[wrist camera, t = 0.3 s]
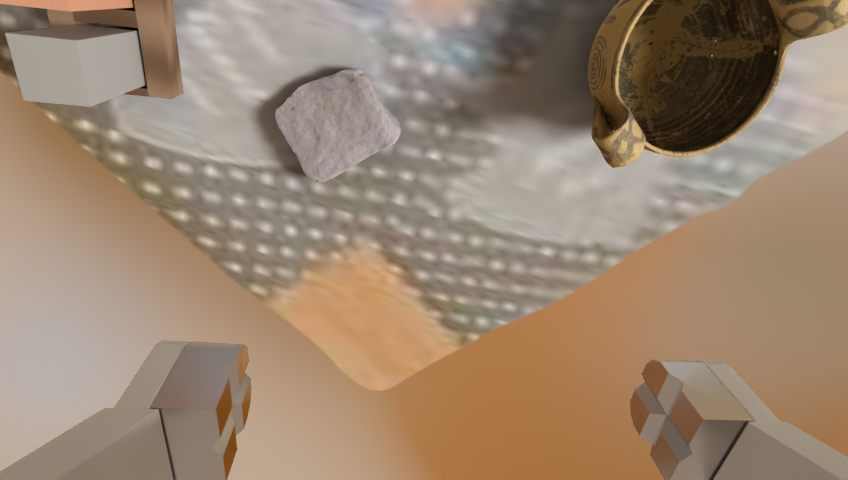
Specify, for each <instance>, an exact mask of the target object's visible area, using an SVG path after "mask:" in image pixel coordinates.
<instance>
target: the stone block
mask: <svg viewBox="0 0 848 480" xmlns="http://www.w3.org/2000/svg"><path fill="white" fill-rule="evenodd" d="M275 120H276V123H277V126H278V127H279V129H280V130H281V132H282V133H283V135H284V137H285V139H286V141H287V142H288V144H289V146H290V147H291V149H292V150H293V151H294V153H295V154H296V156H297V158H298V160H299V162H300V164H301V167H302V169H303V171H304V173H305V174H306V175H307V177H308V178H309V179H311V180H314V181H316V182H320V183H324V182H326V181H328V180H330V179H332V178H334V177H336V176H338V175H339V174H341V173H343V172H345V171H346V170H348V169H350V168H351V167H353V166H355V165H356V164H358V163H359V162H361V161H362V160H364V159H365V158H367V157H369V156H371V155H373V154H375V153H376V152H378V151H381V150H383V149H386V148H388V147H389V146H391V145H393V144H394V143H395V142H396V141H397V140H398V138H399V135H400V134H401V131H402V129H401V126H400V124H399V121H398V119H397V118H396V117H395V116H394V115H393V114H392V113H391V112H390V111H389V110H388V109H387V107H386V106H385V105H384V104H383V103H382V102H381V100H380V99H379V97H378V95H377V93H376V90H375V87H374V85H373V83H372V80H371V78H370V77H369V75H367V74H366V73H364V72H363V71H362V70H359V69H346V70H341V71H339V72H337V73H335V74H332V75H330V76H326V77H321V78H319V79H318V80H314V81H310V82H309V83H306V84H304V85H301V86H299V87H298V88H297V89H296V90H295V91H294V93H293V94H292V95H291V96H290V97H288V98H287V99H286V101H285V102H284V103H283V104H282V105H281V106H279V107H278V108H277V109H276V110H275Z"/></svg>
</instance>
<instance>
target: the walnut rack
mask: <svg viewBox="0 0 848 480" xmlns="http://www.w3.org/2000/svg"><path fill="white" fill-rule="evenodd" d="M134 4H135V9H134V8H118V9H103V10H88V11H73V12H69V11H60V10H51V9H46V10H47V14H48V18H49V22H50V27H51V28H53V27H62V26H71V25H80V24H83V25H92V26H93V23H98V24H107V25H116V26H125V27H134V28H138V30H139V37H140V43H141V49H142V56H143V62H144V69H145V75H146V85H145V86H142V87H140V88H137V89H134V90H132V91H129V92H127V93H124V94H130V95H140V96H150V97H160V98H171V99H172V98H174V97H176V96H178V95H180V94H182V93H183V87H182V78H181V70H180V62H179V54H178V45H177V37H176V29H175V21H174V12H173V4H172V0H134Z"/></svg>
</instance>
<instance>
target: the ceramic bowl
mask: <svg viewBox="0 0 848 480" xmlns="http://www.w3.org/2000/svg"><path fill="white" fill-rule="evenodd" d="M847 24H848V0H619V1H618V2H617V3H616V4H615V5H614V7H613V8H612V9H611V11H610V12H609V14H608V15H607V17H606V18H605V20H604V21H603V23H602V24H601V26H600V28H599V30H598V32H597V34H596V37H595V39H594V41H593V45H592V48H591V51H590V55H589V62H588V74H587V77H588V84H589V87H590V90H591V93H592V96H593V99H594V114H593V124H592V139H593V140H594V142H595V143H596V145H597V146H598V148H599V149H600V151H601V153H602V155H603V157H604V159H605V160H606V162H607V163H608V164H609V165H610V166H612V167H622V166H626V165H628V164H630V163H631V162H633V161H634V160H635V159H636V158H638V157H639V156H640V154H641V153H642V151H643V149H646V150H649V151H652V152H655V153H659V154H664V155H668V156H674V157H689V156H695V155H699V154H703V153H706V152H709V151H711V150H713V149H717V148H719V147H720V146H722V145H724V144H726V143H727V142H729V141H730V140H732V139H733V138H734V137H736V136H737V135H738V134H740V133H741V132H742V131H743V130H745V129H746V128H747V127H748V126H749V125H750V124H751V123H752V122H753V121H754V120H755V119H756V118H757V117H758V116H759V115H760V113H761V112H762V111H763V109H764V108H765V107H766V105H767V104H768V102H769V100H770V99H771V97H772V95H773V93H774V91H775V89H776V88H777V85H778V83H779V80H780V78H781V76H782V73H783V69H784V66H785V56H786V52H787V49H788V47H789V45H790V44H791V43H792V42H794V41H797V40H800V39H805V38H810V37H814V36H818V35H822V34H825V33H828V32H831V31H834V30H837V29H839V28H842V27H844V26H846V25H847ZM650 31H652V32H650ZM715 40H717V41H716V43H715ZM650 43H651V45H649V44H650ZM712 54H713V57H711V55H712ZM613 130H614V131H615V132H614V133H613Z"/></svg>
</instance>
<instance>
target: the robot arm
mask: <svg viewBox="0 0 848 480" xmlns="http://www.w3.org/2000/svg"><path fill="white" fill-rule="evenodd" d="M248 362H249V356H248V348H247V347H246V346H245V345H240V344H225V343H207V342H181V341H165V340H162V341H161V342H160V343H158V344H156V345H155V346H154V348H153V350H152V351H151V353H150V354H149V356H148V357H147V359H146V360H145V362H144V363H143V365H142V366H141V368H140V369H139V371H138V373H137V374H136V375H135V377H134V378H133V380H132V382H131V383H130V385H129V386H128V388H127V389H126V391H125V392H124V394H123V395H122V397H121V398H120V400H119V401H118V403H117V404H116V406H115V407H114V408H104V409H102V410H101V411H99V412H97V413H96V414H94V415H93V416H91V417H89V418H88V419H86V420H84V421H83V422H81V423H79V424H78V425H76V426H74V427H73V428H71V429H70V430H68V431H66V432H65V433H63V434H61V435H60V436H58V437H57V438H55V439H53V440H51V441H50V442H48V443H46V444H45V445H43V446H42V447H40V448H38V449H37V450H35V451H33V452H32V453H30V454H29V455H27V456H25V457H23V458H22V459H20V460H19V461H17V462H15V463H14V464H12V465H10V466H9V467H7V468H5V469H4V470H2V471H1V472H0V480H227V478H228V475H229V472H230V469H231V466H232V463H233V460H234V457H235V454H236V451H237V443H236V435H237V434H238V433H239V432H241V431H242V430H243V429H244V427H245V423H246V420H247V417H248V412H249V407H250V400H251V379H250V377H249V376H247V374H246V373H245V370H246V368H247V365H248ZM642 375H643V378H644V380H645V382H644V383H643V384H642V385H640V386H639V387H638V388H636V389H635V390H634V393H633V396H632V398H631V401H630V409H631V418H632V421H633V424H634V426H635V428H636V430H637V432H638V434H639V436H641V437H642V438H643V439H645V440H646V441H647V442H648V443H650V444H651V445H652V447H651V453H650V455H651V457H652V459H653V460H654V462H655V464H656V466H657V467H658V469H659V471H660V473H661V474H662V476H663V478H664V480H848V457H846V456H844V455H843V454H841V453H839V452H838V451H836V450H834V449H832V448H831V447H829V446H827V445H826V444H824V443H822V442H820V441H819V440H817V439H815V438H813V437H812V436H810V435H808V434H807V433H805V432H803V431H801V430H800V429H798V428H796V427H795V426H793V425H791V424H790V423H782V422H780V421H779V420H778V419H777V418H776V417H775V416H774V414H773V413H772V412H771V411H770V410H769V409H768V408H767V407H766V406H765V404H764V403H762V401H761V400H760V399H759V398H758V397H757V396H756V395H755V394H754V392H752V390H751V389H749V387H748V386H747V385H746V384H745V383H744V382H743V381H742V379H741V378H740V377H739V376H738V375H737V374H736V373H735V372H734V371H733V370H732V369H731V367H730V366H729V365H727V364H725V363H723V362H721V361H679V360H678V361H677V360H651V361H650V362H648V363H647V364H646V365H645V368H644V370H643V372H642Z"/></svg>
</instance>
